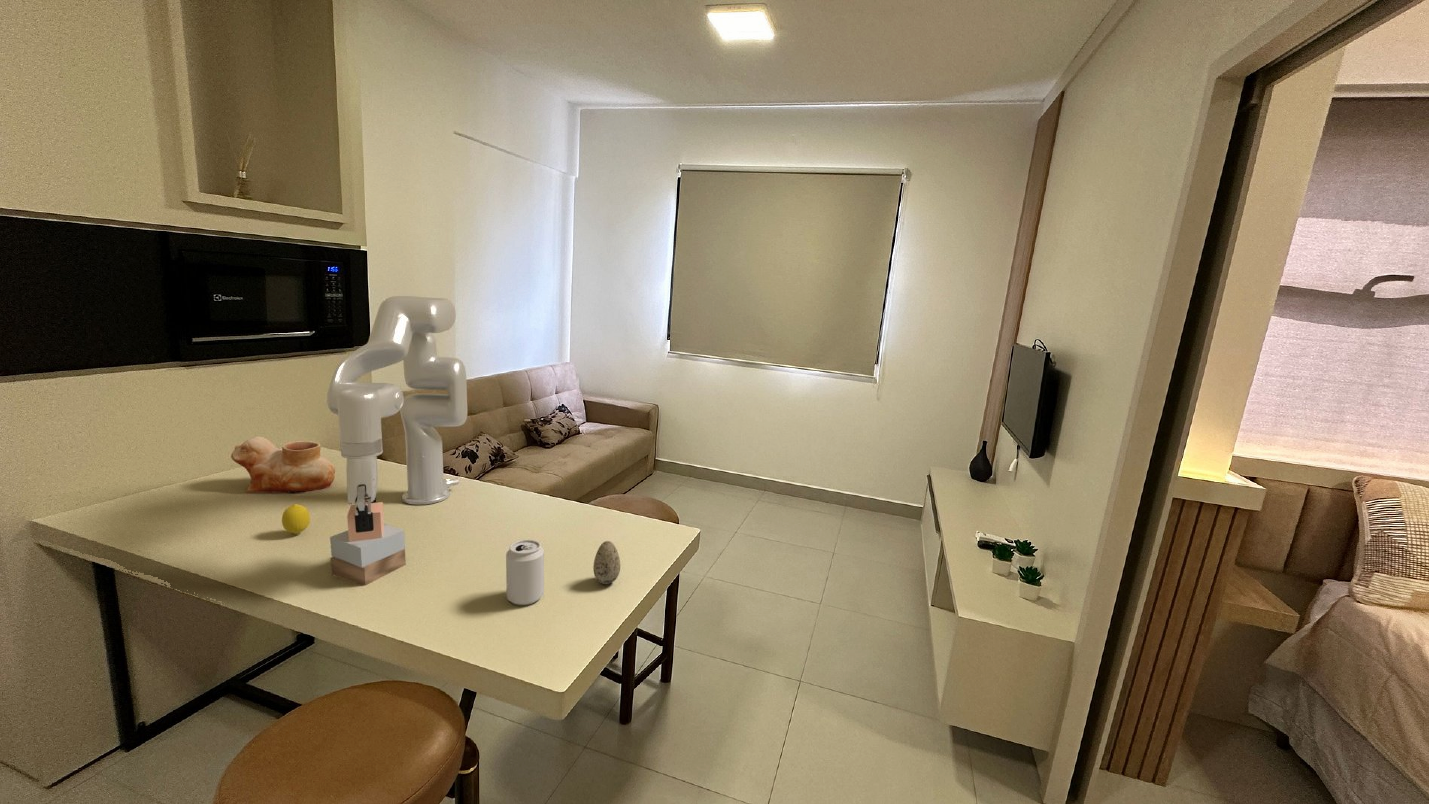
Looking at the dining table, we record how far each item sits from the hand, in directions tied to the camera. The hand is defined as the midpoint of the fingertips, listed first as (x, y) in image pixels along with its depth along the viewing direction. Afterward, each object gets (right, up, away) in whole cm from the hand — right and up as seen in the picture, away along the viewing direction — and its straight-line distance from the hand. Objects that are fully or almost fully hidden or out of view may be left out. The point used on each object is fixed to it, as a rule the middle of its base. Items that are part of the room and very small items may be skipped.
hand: (366, 522), depth 120 cm
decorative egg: (+52, -15, +4) cm, 54 cm away
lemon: (-28, -7, +17) cm, 33 cm away
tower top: (-1, -7, +2) cm, 8 cm away
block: (-1, -3, +1) cm, 3 cm away
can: (+36, -15, -4) cm, 39 cm away
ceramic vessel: (-54, +1, +46) cm, 71 cm away
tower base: (-1, -12, +3) cm, 12 cm away
